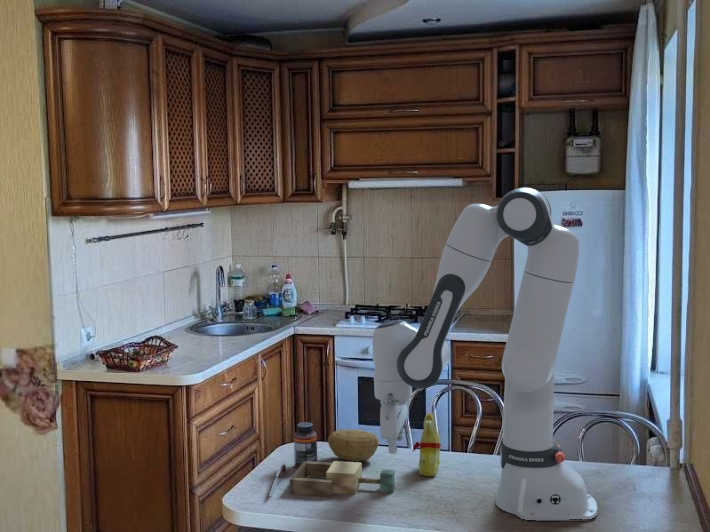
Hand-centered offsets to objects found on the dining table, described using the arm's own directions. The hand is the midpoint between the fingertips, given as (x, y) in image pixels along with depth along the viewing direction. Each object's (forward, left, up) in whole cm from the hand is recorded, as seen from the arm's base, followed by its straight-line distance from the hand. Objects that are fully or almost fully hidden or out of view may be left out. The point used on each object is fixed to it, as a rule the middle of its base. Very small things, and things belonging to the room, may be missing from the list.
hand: (396, 446), depth 194 cm
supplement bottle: (+26, -12, -11) cm, 30 cm away
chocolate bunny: (-5, -15, -11) cm, 20 cm away
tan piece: (+19, 0, -11) cm, 22 cm away
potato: (+15, -19, -11) cm, 26 cm away
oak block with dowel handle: (+8, 0, -11) cm, 14 cm away
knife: (+29, +2, -12) cm, 31 cm away
